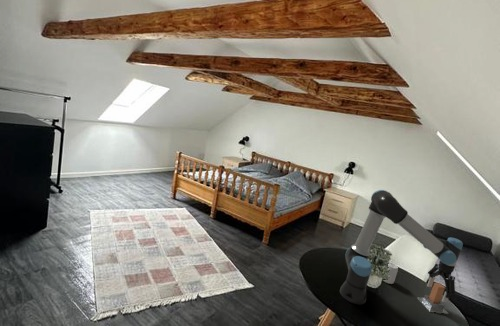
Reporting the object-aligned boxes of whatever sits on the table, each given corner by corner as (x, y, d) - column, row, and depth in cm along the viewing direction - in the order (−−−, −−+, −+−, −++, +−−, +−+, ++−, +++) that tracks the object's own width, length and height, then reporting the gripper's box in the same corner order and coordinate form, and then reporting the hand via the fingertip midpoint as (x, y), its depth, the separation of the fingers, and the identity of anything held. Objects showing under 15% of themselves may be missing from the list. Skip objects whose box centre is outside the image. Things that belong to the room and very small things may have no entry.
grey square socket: (429, 311, 167) (431, 305, 167) (417, 298, 179) (419, 292, 178) (448, 314, 168) (450, 308, 167) (434, 300, 180) (436, 294, 179)
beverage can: (380, 281, 191) (385, 265, 189) (381, 275, 198) (386, 260, 196) (393, 286, 188) (398, 270, 185) (393, 280, 195) (398, 265, 192)
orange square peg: (431, 306, 171) (438, 286, 168) (427, 302, 175) (434, 282, 172) (437, 307, 172) (445, 287, 169) (433, 303, 176) (440, 283, 173)
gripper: (470, 276, 156) (457, 309, 160) (439, 252, 180) (428, 281, 184) (457, 274, 155) (445, 307, 159) (428, 251, 179) (418, 280, 184)
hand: (436, 293), depth 172 cm, fingers open, 13 cm apart
